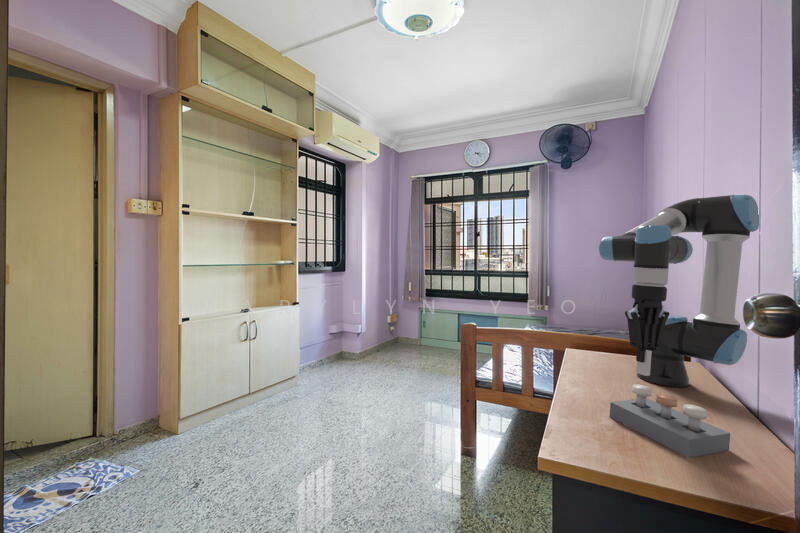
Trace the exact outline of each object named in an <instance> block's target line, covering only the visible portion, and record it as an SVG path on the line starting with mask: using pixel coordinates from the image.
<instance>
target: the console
mask: <svg viewBox="0 0 800 533" xmlns="http://www.w3.org/2000/svg"><path fill="white" fill-rule="evenodd" d="M660 408H661V404H658V403H657V402H656V400H655V401H654V400H653V399H650V398H647V399H646V408H640V407H637V406H636V399H635V398H634V399H625V400H619V401H618V400H617V401H610V406H609V417H610V418H612V419H613V420H614V421H617V422H619V423H621V424H623V425H625V426H626V427H628V428H630V429H632V430H635V431H637V432H638V433H640V434H642V435H644V436H645V437H647V438H649V439H652V440H654V441H655V442H657V443H659V444H661V445H663V446H664V447H666V448H669V449H671V450H673V451H674V452H676V453H678V454H680V455H682V456H684V457H686V458H694V457H699V456H700V457H701V456H704V455H705V456H706V455H712V454H717V453H722V452H726V451H727V452H728V451H730V444H731V443H730V441H731V432H729V431H726V430H724V429H722V428H719V427H717V426H714V425H712V424H710V423H708V422H704V421H703V420H700V432H699V433H695V432H693V431H690V430H688V429H687V427H688V416H687V415H685V414H684V413H683V412H681V411H678V410H676V409H674V408H672V411H671V420H666V419H664V418H662V417H660Z"/></svg>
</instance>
